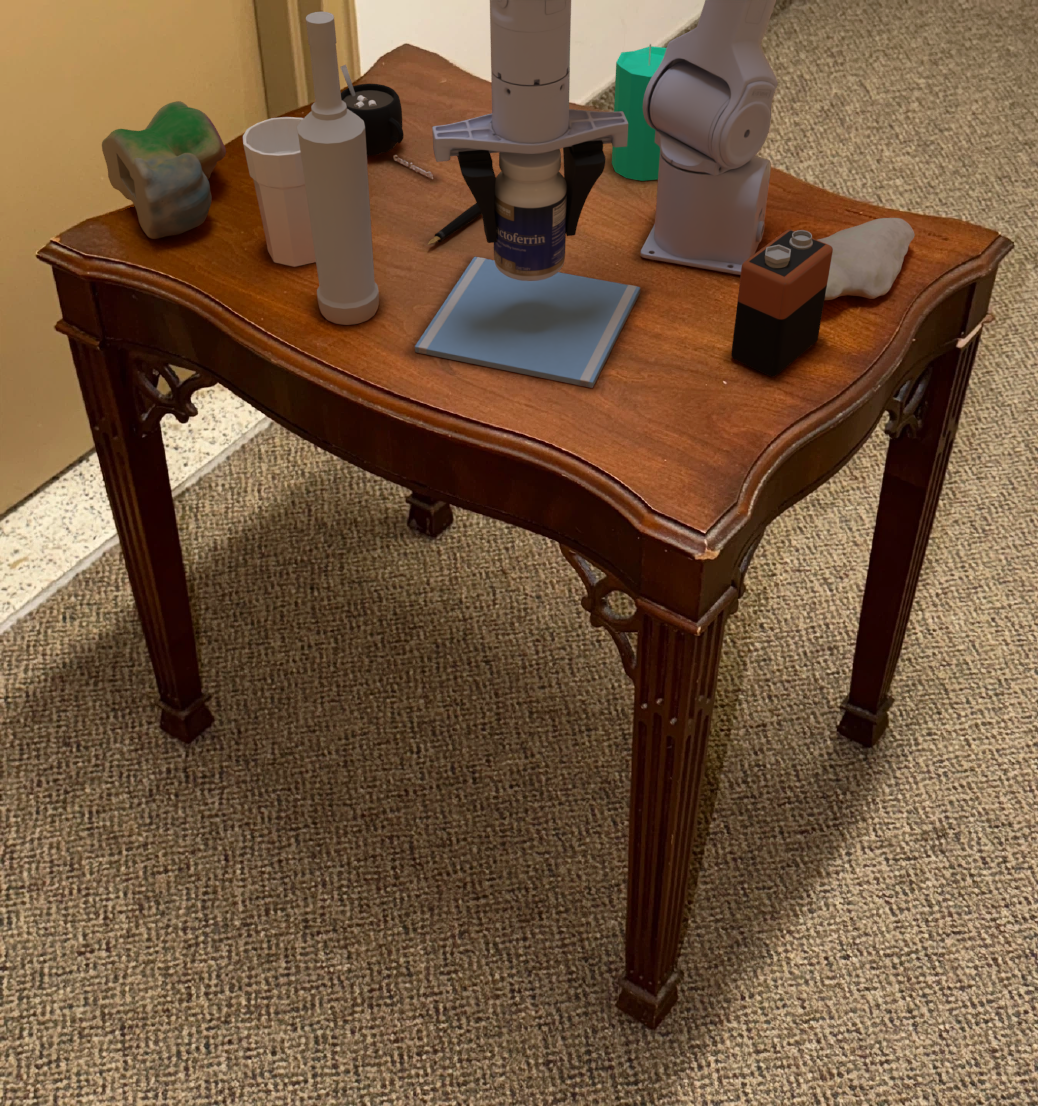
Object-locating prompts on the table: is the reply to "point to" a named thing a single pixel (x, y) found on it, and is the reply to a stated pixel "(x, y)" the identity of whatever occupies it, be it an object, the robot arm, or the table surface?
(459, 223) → the fountain pen
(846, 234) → the stone tool
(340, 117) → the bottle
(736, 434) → the table surface
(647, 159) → the candle
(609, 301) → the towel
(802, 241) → the battery
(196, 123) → the sculpture
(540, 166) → the pill bottle
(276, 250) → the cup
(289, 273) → the table surface
